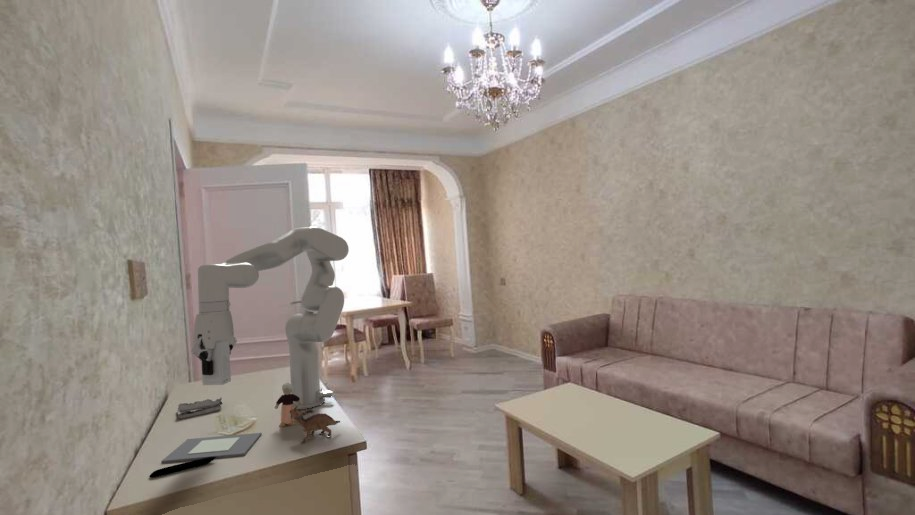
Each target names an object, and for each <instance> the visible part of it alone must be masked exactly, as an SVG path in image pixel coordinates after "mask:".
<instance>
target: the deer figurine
mask: <svg viewBox="0 0 915 515" xmlns="http://www.w3.org/2000/svg"><path fill="white" fill-rule="evenodd" d="M297 407H298V406H296V407H295V408H294V409H291V410H290V414H291V416H290V417H291V419H294V422H296V423H297V424H298V425H299V426H300V427H301V428H303V431H304V432H305V433H306V436H305V437H304V438H303V440H302V441H300V442H301V443H304V444H305V443H306V442H307V440H308V439H309V440H310V439H311V438H312V436H314V434H315V432H316V431H321V433H323V434H325V433H324V432H326V433H327V435H328V436H330V435H331V436H332V430H331V429H330V428H329V426H335V425H338V424H339V423H341V421H340V420H335V419H334V418H333V417H331V416H330V415H328V414H327V413H317V414H314V415H313V413H314V412H315V411H314V409H312V408H309V409H303V410H302V411H301V410H296V408H297ZM309 414H312V416H309V417H308V418H306V419H305V415H309ZM311 435H312V436H311Z"/></svg>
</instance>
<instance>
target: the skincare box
mask: <svg viewBox="0 0 915 515" xmlns="http://www.w3.org/2000/svg"><path fill="white" fill-rule="evenodd" d="M201 349H202V347H201V348H200V350H201ZM206 355H207V351H206ZM230 356H231V354H230V355H229V340H224V341H219V342H217V344H216V348H215V349H213V351H212V357H211V360H213V375H203V374H202V373H201V378H202V379H201V380H202V386H223V385H226V384H228V383H231V380H232V375H231V361H230V360H231V358H230ZM200 363H201V364H200V365H201V367H202V361H200Z"/></svg>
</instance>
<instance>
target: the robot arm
mask: <svg viewBox="0 0 915 515" xmlns="http://www.w3.org/2000/svg"><path fill="white" fill-rule="evenodd" d="M349 248H350V247H349V244H348V242H347V241H346V240H345V238H343V237H341V236H339V235H338V234H337V235H336V234H335V233H332V232H330V231H328V230H327V229H324V228H321V227H318V226H306V227H305V226H303V227H296V228H292V229H291V230H288V231H287V232H285V233H283V234H282V235H279V236H278V237H276V238H273V239H272V240H270V241H268V242H266V243H263V244H261V245H258V246H256V247H254V248H252V249H249V250H245V251H243V252H241V253H238V254H236V255H234V256H232V257H230V258H228V259H227V260H225V261H223V262H221V263H211V264H210V263H209V264H202V265H199V267H198V268H197V288H198V289H197V291H198V292H197V293H198V296H197V297H198V313H197V314H196V315H195V319H194V325H193V339H192V340H193V341H192V342H193V347H192V348H191V350H190V352H191V354H193V355H194V356H196V357H197V358H198V359H199V361H200V362H201V361H202V366H201V375H202V374H203V375H213V360H211V357H212V351H213V349H215V348H216V344H217V342H219V341H224V340H229V355H230V356H231V354H232V352H231V351H232V350H233V349H234V347H235V345H236V344H237V342H238V340H237V338H236V337H235V334H234V332H235V331H234V322H233V316H232V312H231V310H230V306H231V302H230V289H247V288H250V287H252V286H254V285H255V284H256V283H257V282H258V280H259V277H260V274H259V272H261V271H266V270H271V269H275V268H278V267H281V266H283V265H285V264H286V263H287V262H290V261H291V260H292V259H294V258H296V257H297V256H299V255H301V254H302V253H304V252H306V256H307V257H308V260H309V263H310V267H311V274H310V277H309V279H308V281H307V284H306V286H305V289H304V291H303V293H302V297H301V300H300V305H301V308H302V309H304V310H305V311H306V312H309V313H306V312H305V313H302V312H301V313H295V314H293V315H292V316H290V317H289V318H288V319H287V321H286V324H285V328H284V329H285V336H286V338H287V339H286V340H287V343H288V351H289V370H290V371H289V374H290V375H289V376H290V384H291V385H292V386H293V390H292V392H291V393H290V394H294V395H296V396H298V397H299V398H300V401H301V402H302V404H301V405H299V404H298V403H297V402H295V401H293V403H294V408H295V407H296V406H298V407H297V408H296V411H298V410H300V411H301V410H302V411H303V410H308V409H307V408H309V409H313V408H315V406H317V407H319V406H321V405H322V403H323V402H324V401H325V402H326V399H328V398H333V396H334V392H333V391H331V390H323V387H322V386H321V384H320V383H321V381H320V380H321V379H320V363H319V362H320V361H319V360H320V355H319V353H320V352H319V349H318V345H317V343H324V342H327V341H329V340H330V339H331V338H332V336H333V334H334V333H335V331H336V328H337V325H338V323H339V320H340V318H341V314H342V312H343V309H344V306H345V295H344V291H343V290H342V289H341V288H340V287H338V286H336V285H334V282H335V276H336V274H335V270H334V268H333V265H332V263H331V262H338V261H342V260H344V259H345V258H346V257H347V256H348V254H349ZM310 312H311V313H310ZM201 347H202V349H201V350H200V348H201ZM206 351H207V355H206ZM331 396H332V397H331ZM325 402H324V403H325ZM324 403H323V404H324ZM320 404H321V405H320ZM318 405H319V406H318ZM312 407H313V408H312Z"/></svg>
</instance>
